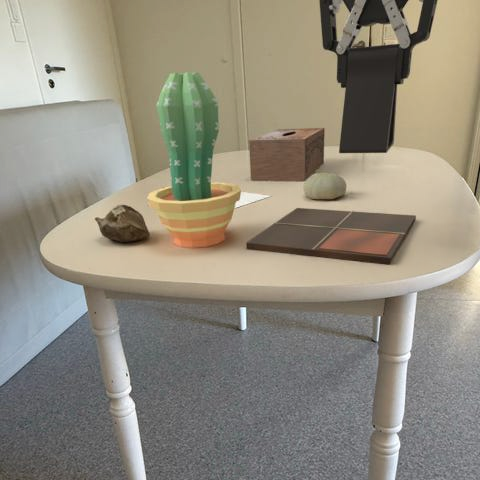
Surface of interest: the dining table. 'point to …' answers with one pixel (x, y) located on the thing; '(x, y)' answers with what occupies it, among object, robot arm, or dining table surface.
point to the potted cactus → (192, 165)
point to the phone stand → (369, 100)
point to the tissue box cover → (287, 154)
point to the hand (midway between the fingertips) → (371, 85)
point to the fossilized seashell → (123, 224)
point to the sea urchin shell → (324, 186)
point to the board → (336, 235)
